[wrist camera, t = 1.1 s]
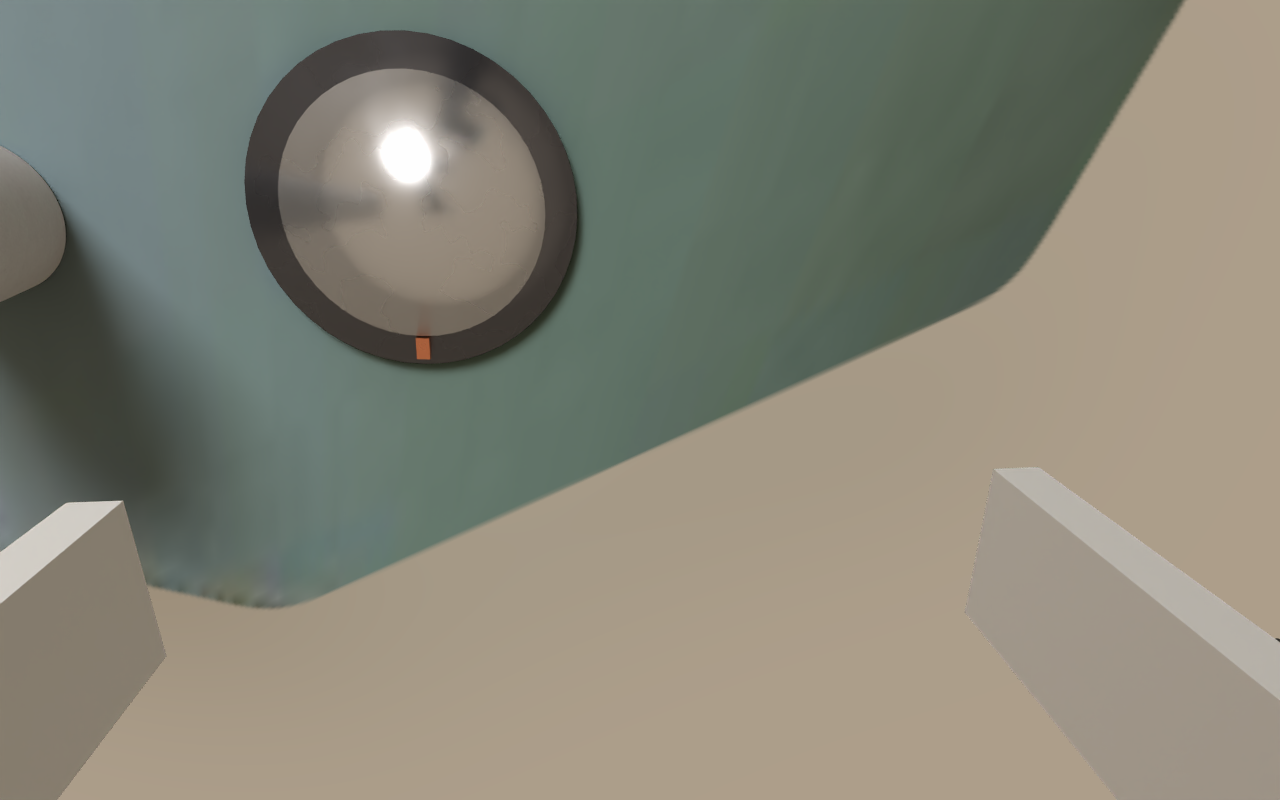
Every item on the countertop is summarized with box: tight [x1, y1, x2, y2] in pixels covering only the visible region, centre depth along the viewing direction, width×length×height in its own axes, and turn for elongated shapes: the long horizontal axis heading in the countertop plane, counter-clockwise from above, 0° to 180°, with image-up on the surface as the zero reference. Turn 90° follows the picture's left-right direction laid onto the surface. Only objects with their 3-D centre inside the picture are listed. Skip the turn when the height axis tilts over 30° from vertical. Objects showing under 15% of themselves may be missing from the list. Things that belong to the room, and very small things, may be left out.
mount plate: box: [245, 31, 577, 364], centre depth 32 cm, size 14×14×1 cm
